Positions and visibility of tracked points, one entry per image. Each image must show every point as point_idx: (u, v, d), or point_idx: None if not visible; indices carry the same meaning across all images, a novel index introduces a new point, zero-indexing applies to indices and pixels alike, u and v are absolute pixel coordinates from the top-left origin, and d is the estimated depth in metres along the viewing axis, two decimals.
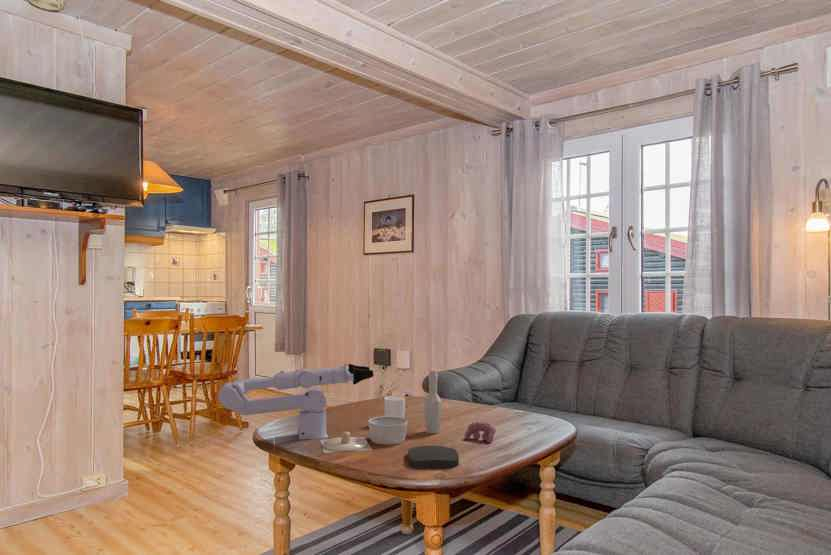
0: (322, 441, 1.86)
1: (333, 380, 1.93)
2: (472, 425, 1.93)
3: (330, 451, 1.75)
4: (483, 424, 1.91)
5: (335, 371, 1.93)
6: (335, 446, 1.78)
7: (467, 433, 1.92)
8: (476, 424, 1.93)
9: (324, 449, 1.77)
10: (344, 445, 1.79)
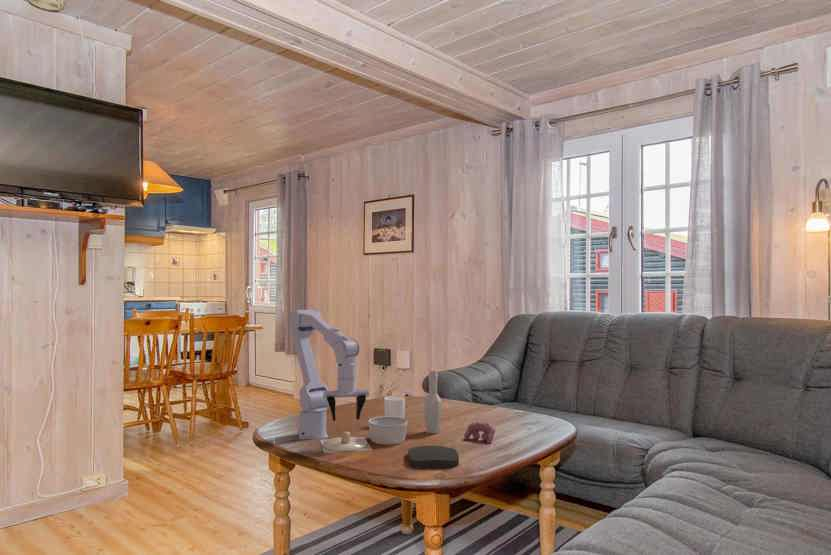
0: (322, 441, 1.86)
1: None
2: (472, 425, 1.93)
3: (330, 451, 1.75)
4: (483, 424, 1.91)
5: (340, 381, 1.80)
6: (335, 446, 1.78)
7: (467, 433, 1.91)
8: (476, 424, 1.92)
9: (324, 449, 1.77)
10: (344, 445, 1.79)
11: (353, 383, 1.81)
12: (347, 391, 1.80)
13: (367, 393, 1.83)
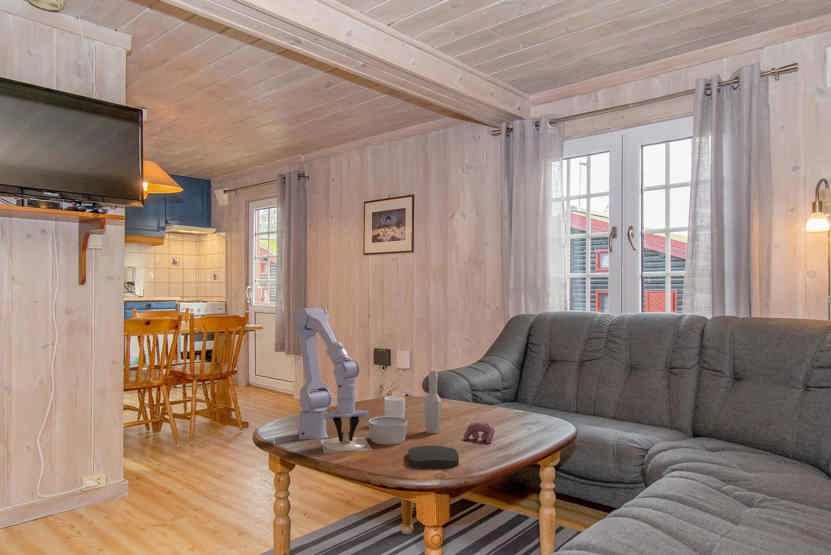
0: (322, 441, 1.86)
1: None
2: (471, 425, 1.92)
3: (330, 451, 1.75)
4: (482, 424, 1.91)
5: (339, 402, 1.80)
6: (335, 446, 1.78)
7: (466, 434, 1.91)
8: (475, 424, 1.92)
9: (324, 449, 1.77)
10: (344, 445, 1.79)
11: (353, 404, 1.81)
12: (347, 412, 1.79)
13: (367, 414, 1.83)
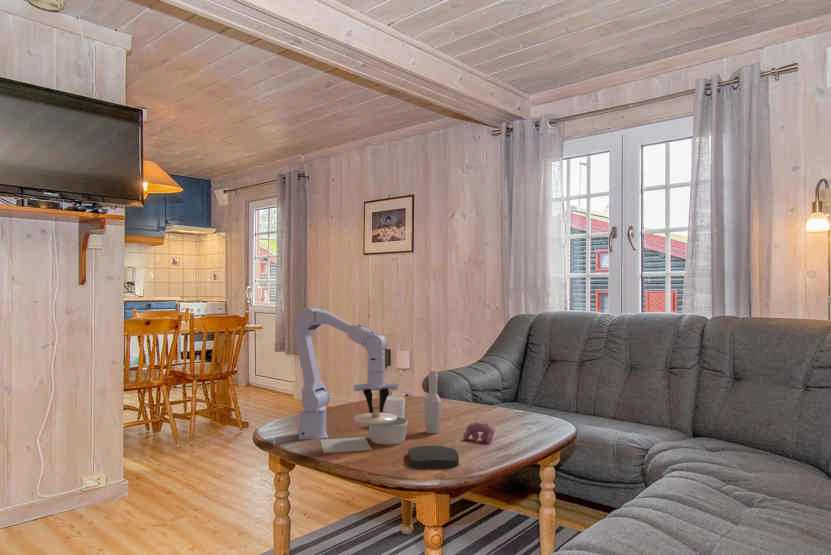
0: (322, 441, 1.86)
1: None
2: (471, 426, 1.92)
3: (330, 451, 1.75)
4: (482, 425, 1.90)
5: (370, 374, 1.85)
6: (366, 419, 1.82)
7: (466, 434, 1.91)
8: (475, 425, 1.92)
9: (324, 449, 1.77)
10: (374, 418, 1.83)
11: (383, 376, 1.85)
12: (377, 384, 1.84)
13: (396, 386, 1.87)
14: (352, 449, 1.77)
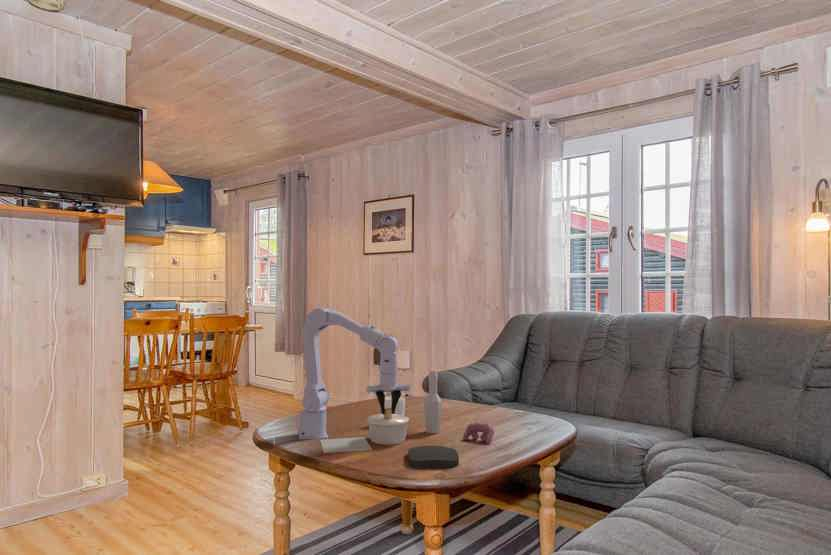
0: (322, 441, 1.86)
1: None
2: (470, 426, 1.92)
3: (330, 451, 1.75)
4: (482, 425, 1.90)
5: (382, 376, 1.87)
6: (379, 421, 1.84)
7: (465, 434, 1.91)
8: (475, 425, 1.91)
9: (324, 449, 1.77)
10: (387, 420, 1.85)
11: (395, 378, 1.88)
12: (390, 386, 1.86)
13: (408, 388, 1.90)
14: (352, 449, 1.77)
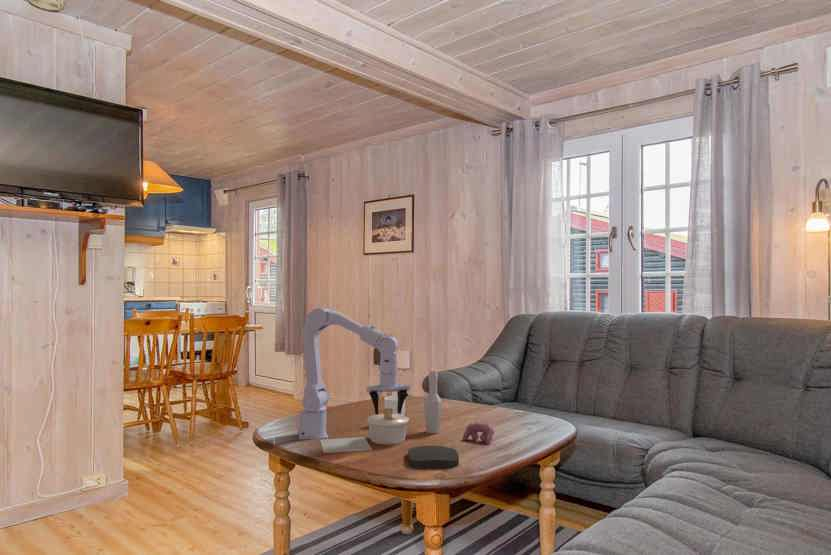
0: (322, 441, 1.86)
1: None
2: (470, 426, 1.92)
3: (330, 451, 1.75)
4: (481, 425, 1.90)
5: (382, 376, 1.87)
6: (379, 421, 1.84)
7: (465, 434, 1.90)
8: (474, 425, 1.91)
9: (324, 449, 1.77)
10: (387, 420, 1.85)
11: (395, 378, 1.88)
12: (390, 386, 1.86)
13: (408, 388, 1.90)
14: (352, 449, 1.77)
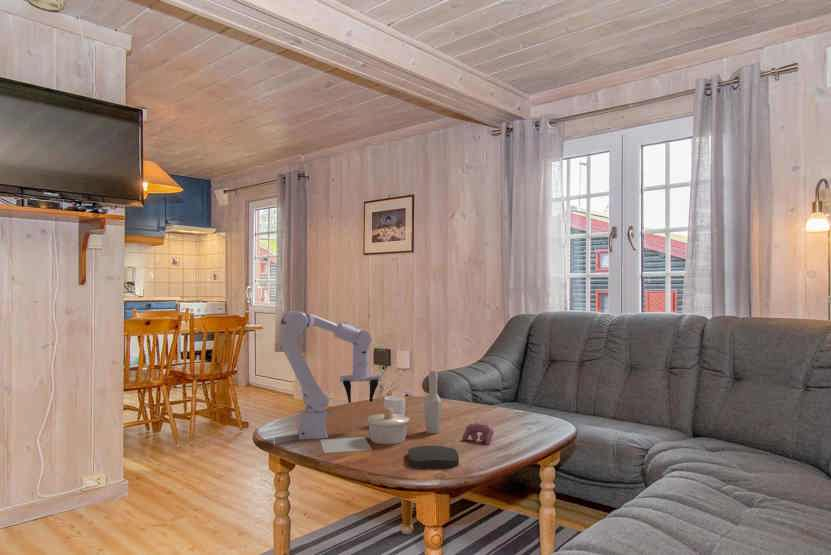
0: (322, 441, 1.86)
1: None
2: (470, 426, 1.92)
3: (330, 451, 1.75)
4: (481, 425, 1.90)
5: (355, 366, 1.99)
6: (379, 421, 1.84)
7: (465, 434, 1.90)
8: (474, 425, 1.91)
9: (324, 449, 1.77)
10: (387, 420, 1.86)
11: (367, 368, 2.00)
12: (361, 376, 1.99)
13: (379, 378, 2.02)
14: (352, 449, 1.77)
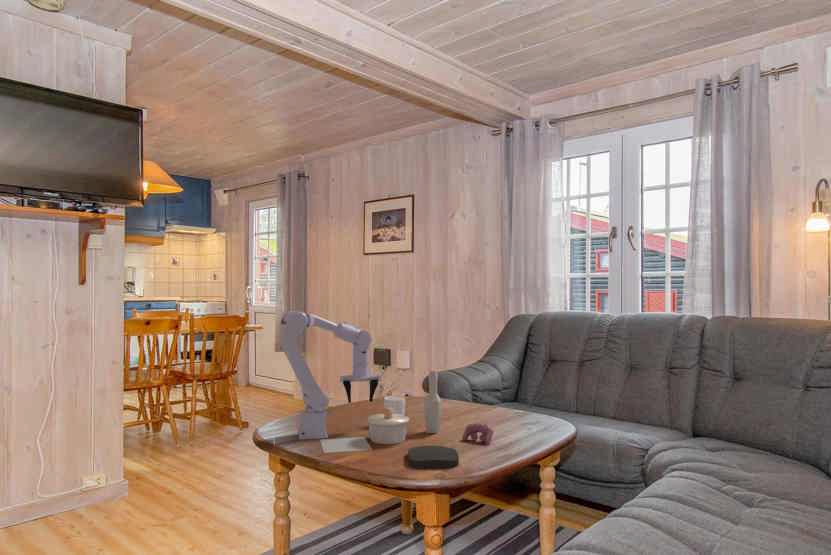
0: (322, 441, 1.86)
1: None
2: (470, 426, 1.91)
3: (330, 451, 1.75)
4: (481, 425, 1.90)
5: (355, 366, 1.99)
6: (379, 421, 1.85)
7: (465, 434, 1.90)
8: (474, 425, 1.91)
9: (324, 449, 1.77)
10: (388, 420, 1.86)
11: (367, 368, 2.00)
12: (361, 376, 1.99)
13: (379, 378, 2.02)
14: (352, 449, 1.77)
